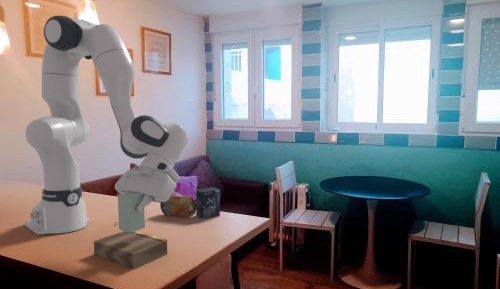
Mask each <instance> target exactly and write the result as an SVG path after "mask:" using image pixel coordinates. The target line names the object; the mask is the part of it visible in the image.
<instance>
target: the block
mask: <svg viewBox="0 0 500 289" xmlns="http://www.w3.org/2000/svg"><path fill="white" fill-rule="evenodd" d="M143 197H144V194H138V193H133V192H128V193H124V194H120V193H119V194H117V209H118V210H117V211H118V212H117V213H118V230H120V231H126V232H130V233H131V232H134V231H139V230H142V229H145V228H146V224H145V223H146V222H145V208H144V209H143V210H142V212H138V211H136V210H135V209H134V207H135V206H136V204H137V203H138V204H139V203H140V202H141V201H142V200H143Z"/></svg>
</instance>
